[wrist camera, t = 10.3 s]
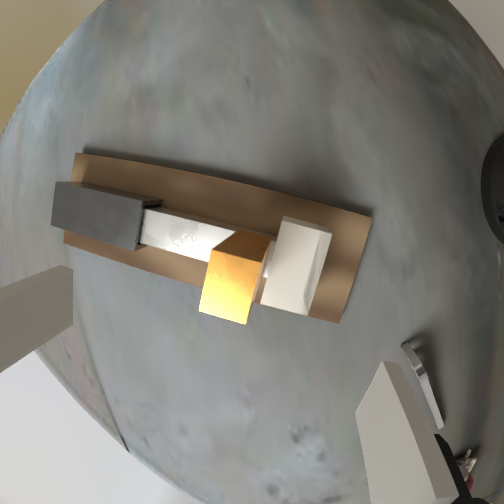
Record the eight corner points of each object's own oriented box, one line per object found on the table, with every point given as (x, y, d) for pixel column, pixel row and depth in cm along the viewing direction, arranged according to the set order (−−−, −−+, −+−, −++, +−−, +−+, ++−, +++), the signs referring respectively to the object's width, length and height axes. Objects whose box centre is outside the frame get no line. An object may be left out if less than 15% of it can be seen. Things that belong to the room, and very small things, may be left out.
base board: (82, 153, 34) (75, 152, 32) (368, 216, 31) (372, 218, 29) (70, 240, 36) (63, 242, 35) (337, 318, 34) (338, 323, 32)
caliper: (398, 343, 34) (414, 369, 27) (405, 339, 33) (423, 364, 27) (437, 427, 35) (450, 452, 29) (443, 424, 35) (456, 448, 29)
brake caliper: (409, 502, 37) (433, 520, 26) (416, 456, 41) (443, 466, 31) (456, 489, 35) (484, 502, 25) (462, 444, 40) (493, 450, 29)
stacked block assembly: (114, 193, 32) (31, 200, 19) (308, 241, 30) (320, 278, 17) (109, 227, 33) (28, 248, 20) (297, 278, 31) (300, 338, 18)
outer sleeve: (81, 181, 33) (55, 181, 28) (163, 199, 32) (142, 201, 27) (76, 220, 34) (50, 225, 29) (155, 242, 33) (134, 251, 28)
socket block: (283, 215, 31) (281, 220, 25) (325, 226, 30) (332, 234, 25) (265, 285, 32) (260, 303, 27) (305, 295, 32) (307, 315, 27)
